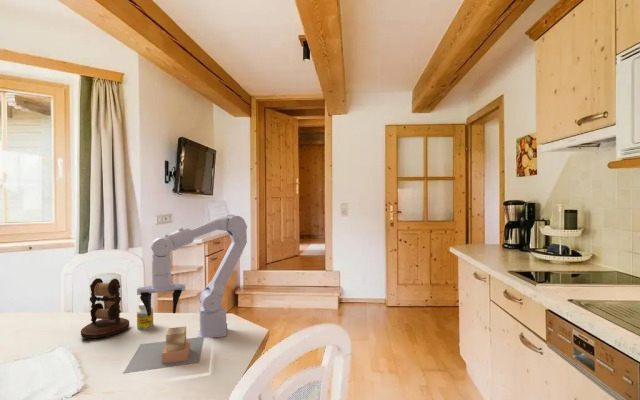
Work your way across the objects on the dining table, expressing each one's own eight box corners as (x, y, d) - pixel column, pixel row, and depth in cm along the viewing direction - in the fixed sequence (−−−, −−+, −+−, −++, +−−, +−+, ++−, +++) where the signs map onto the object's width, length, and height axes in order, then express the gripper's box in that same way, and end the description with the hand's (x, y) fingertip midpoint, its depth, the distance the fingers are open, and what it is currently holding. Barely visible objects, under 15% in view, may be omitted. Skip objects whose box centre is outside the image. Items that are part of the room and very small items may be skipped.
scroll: (138, 325, 123) (137, 274, 123) (109, 343, 108) (108, 284, 108) (103, 324, 125) (102, 273, 124) (69, 341, 110) (68, 283, 110)
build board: (203, 338, 112) (203, 328, 111) (199, 364, 94) (199, 352, 94) (140, 345, 106) (140, 335, 106) (122, 375, 89) (122, 362, 89)
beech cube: (186, 341, 101) (186, 326, 101) (184, 349, 96) (184, 332, 96) (169, 344, 100) (168, 328, 100) (166, 351, 95) (165, 334, 95)
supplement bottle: (152, 324, 124) (152, 300, 124) (154, 329, 119) (153, 304, 119) (136, 327, 121) (136, 302, 121) (137, 332, 116) (137, 306, 116)
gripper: (134, 278, 101) (134, 320, 101) (183, 274, 105) (183, 315, 105) (139, 272, 108) (140, 312, 108) (186, 269, 112) (186, 308, 112)
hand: (162, 313), depth 107 cm, fingers open, 7 cm apart
